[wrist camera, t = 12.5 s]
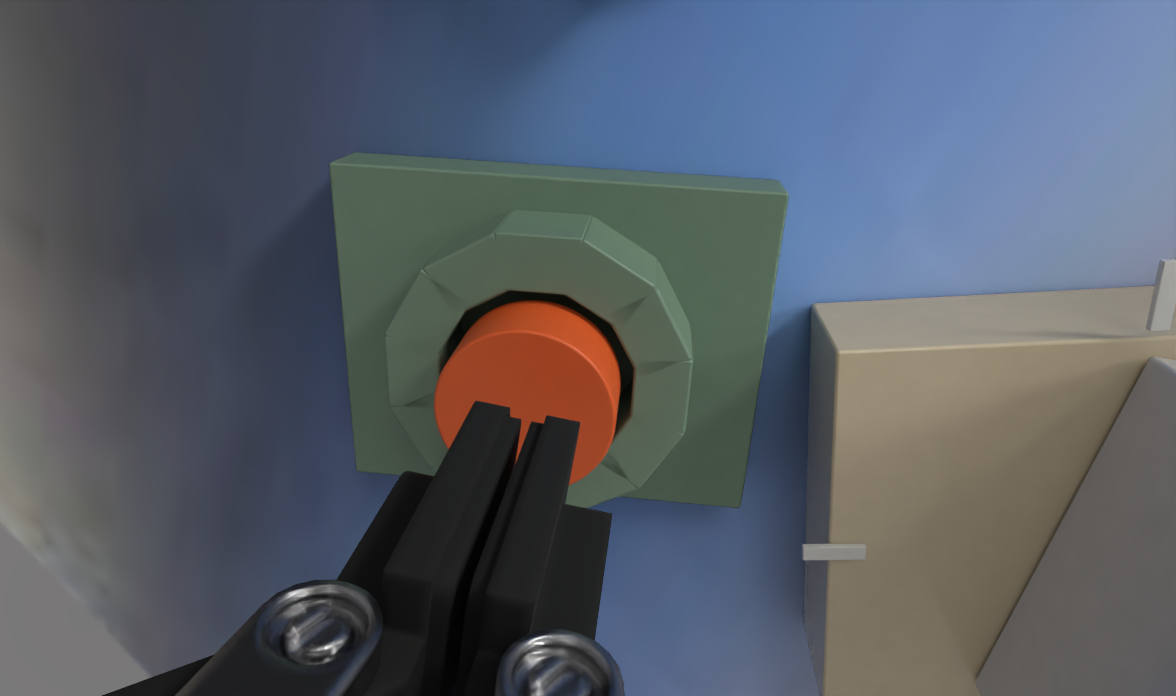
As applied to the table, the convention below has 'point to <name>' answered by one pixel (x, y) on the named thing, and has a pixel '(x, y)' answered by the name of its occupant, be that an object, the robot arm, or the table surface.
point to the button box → (563, 303)
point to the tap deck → (953, 466)
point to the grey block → (1105, 570)
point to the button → (535, 375)
